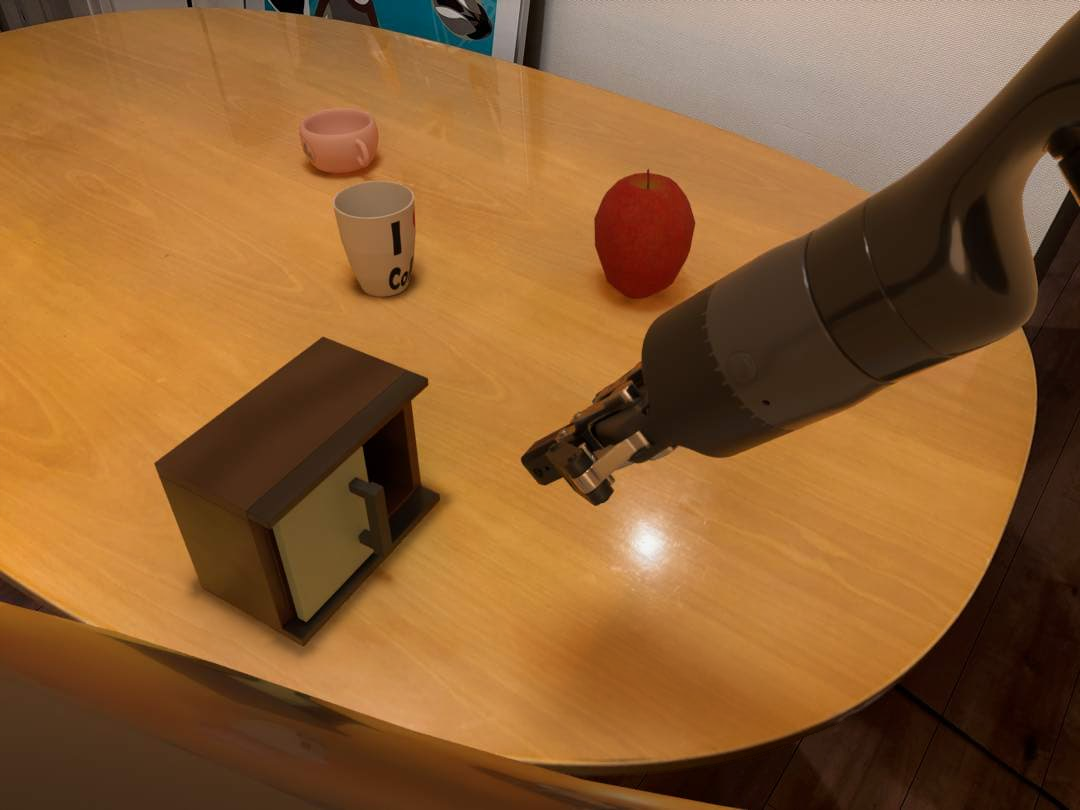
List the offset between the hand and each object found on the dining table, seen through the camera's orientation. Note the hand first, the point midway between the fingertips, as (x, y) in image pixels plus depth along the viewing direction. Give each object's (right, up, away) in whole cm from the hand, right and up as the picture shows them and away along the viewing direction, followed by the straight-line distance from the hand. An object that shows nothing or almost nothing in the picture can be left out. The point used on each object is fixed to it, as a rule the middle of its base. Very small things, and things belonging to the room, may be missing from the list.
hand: (536, 465), depth 51 cm
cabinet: (-17, -7, +16) cm, 24 cm away
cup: (-16, +16, +44) cm, 50 cm away
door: (-13, -9, +12) cm, 20 cm away
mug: (-25, +35, +66) cm, 78 cm away
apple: (+11, +16, +43) cm, 47 cm away
